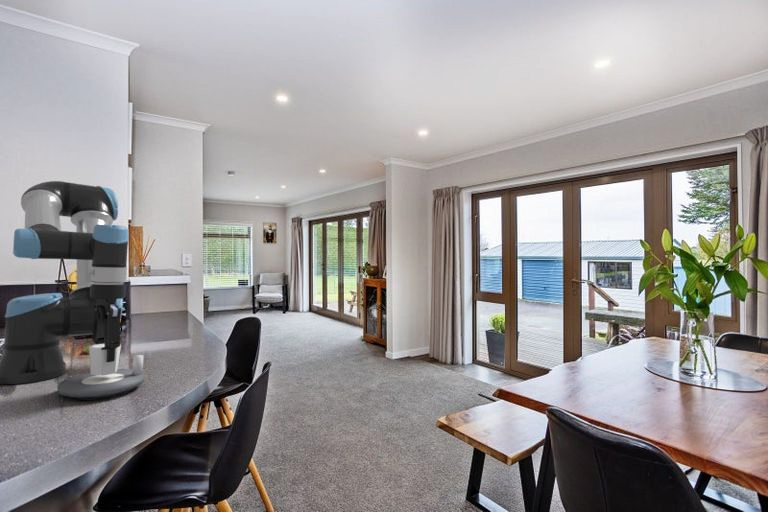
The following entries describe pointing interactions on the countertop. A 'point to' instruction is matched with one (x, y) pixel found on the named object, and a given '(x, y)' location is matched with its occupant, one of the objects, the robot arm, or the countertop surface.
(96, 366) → the white cup
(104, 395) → the base
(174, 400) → the countertop surface
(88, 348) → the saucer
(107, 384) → the disc
